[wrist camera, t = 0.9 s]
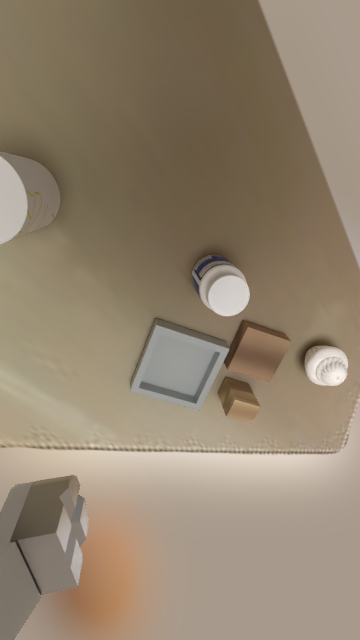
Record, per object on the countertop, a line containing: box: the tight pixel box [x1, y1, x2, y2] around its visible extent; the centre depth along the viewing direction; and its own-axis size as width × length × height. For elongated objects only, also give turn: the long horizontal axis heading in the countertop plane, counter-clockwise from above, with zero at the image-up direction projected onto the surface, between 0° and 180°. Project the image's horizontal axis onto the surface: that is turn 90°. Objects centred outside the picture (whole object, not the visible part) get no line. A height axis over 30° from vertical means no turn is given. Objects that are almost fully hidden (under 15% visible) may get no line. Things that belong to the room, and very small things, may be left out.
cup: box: [0, 151, 60, 244], centre depth 34 cm, size 8×8×12 cm
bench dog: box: [218, 377, 260, 423], centre depth 50 cm, size 3×4×6 cm
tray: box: [130, 318, 229, 411], centre depth 49 cm, size 11×11×2 cm
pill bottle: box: [192, 255, 250, 316], centre depth 41 cm, size 6×6×10 cm
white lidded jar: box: [304, 346, 348, 386], centre depth 48 cm, size 6×6×7 cm
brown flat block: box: [224, 320, 292, 382], centre depth 49 cm, size 7×7×3 cm
